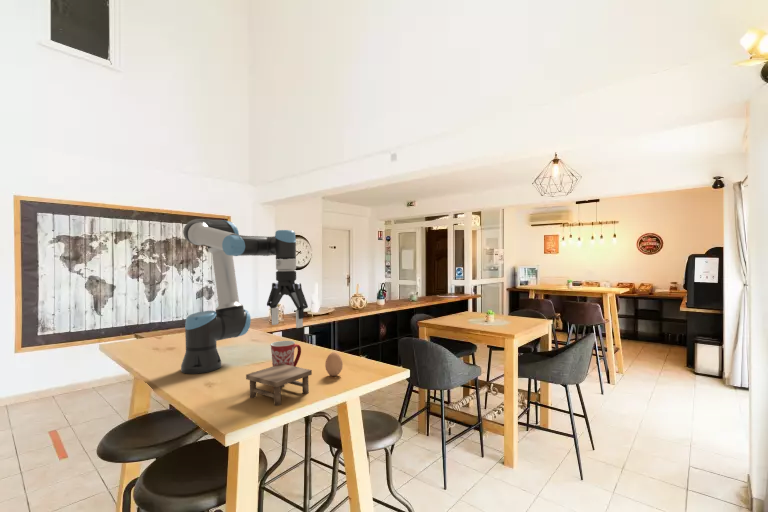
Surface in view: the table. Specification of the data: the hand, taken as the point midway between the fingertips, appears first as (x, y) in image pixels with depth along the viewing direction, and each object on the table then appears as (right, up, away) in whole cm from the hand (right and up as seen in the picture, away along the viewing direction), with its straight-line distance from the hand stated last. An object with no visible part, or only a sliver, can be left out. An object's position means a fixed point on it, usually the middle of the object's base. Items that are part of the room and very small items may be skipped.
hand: (287, 326), depth 145 cm
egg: (+18, -20, +1) cm, 27 cm away
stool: (+2, -20, -18) cm, 27 cm away
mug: (0, -20, 0) cm, 20 cm away
